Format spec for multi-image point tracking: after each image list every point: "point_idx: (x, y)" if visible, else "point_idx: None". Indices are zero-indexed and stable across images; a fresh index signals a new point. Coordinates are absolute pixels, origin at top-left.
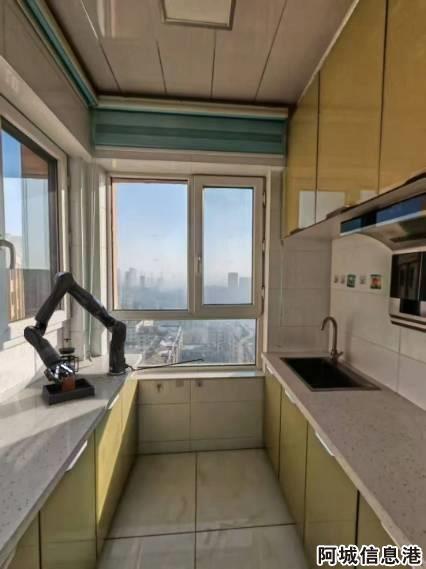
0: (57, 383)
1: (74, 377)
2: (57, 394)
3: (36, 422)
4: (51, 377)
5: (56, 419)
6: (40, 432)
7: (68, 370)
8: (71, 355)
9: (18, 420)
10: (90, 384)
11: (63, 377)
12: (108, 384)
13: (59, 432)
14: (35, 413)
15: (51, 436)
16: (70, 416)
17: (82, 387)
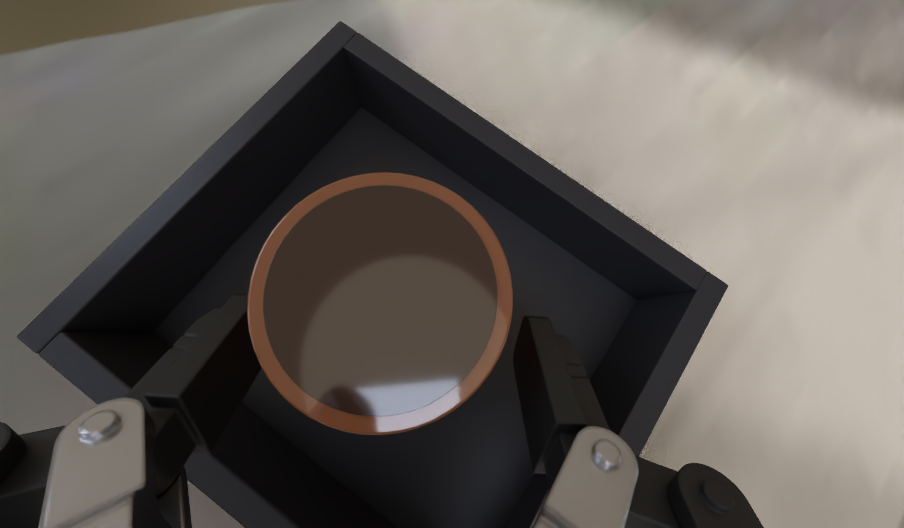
0: (578, 361)
1: (364, 182)
2: (646, 244)
3: (826, 205)
4: (735, 503)
5: (742, 118)
6: (877, 98)
7: (123, 493)
8: None
9: (875, 344)
10: (279, 97)
11: (488, 333)
12: (47, 139)
13: (825, 11)
14: (755, 318)
15: (868, 22)
16: (676, 66)
17: (211, 299)
